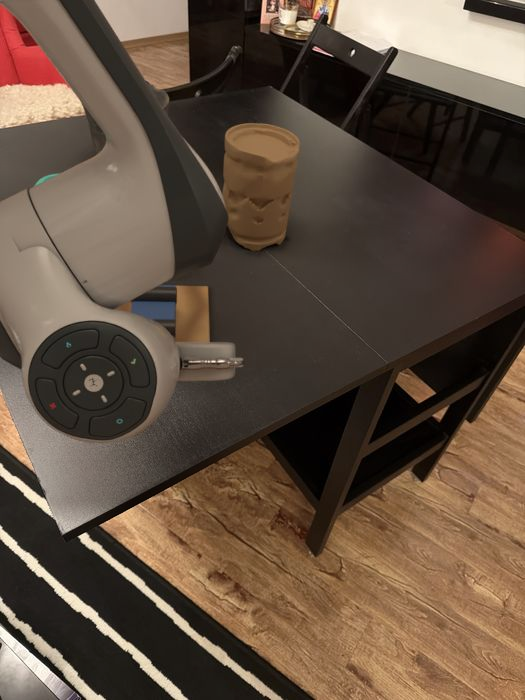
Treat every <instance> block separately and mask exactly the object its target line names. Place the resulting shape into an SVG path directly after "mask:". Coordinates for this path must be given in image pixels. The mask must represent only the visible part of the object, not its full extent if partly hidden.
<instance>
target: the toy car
mask: <svg viewBox="0 0 525 700" xmlns="http://www.w3.org/2000/svg"><path fill="white" fill-rule="evenodd" d="M176 286H177V284H176V285H175V284H161V285H159V286H157V287H155V288H153V289H151V290H150V291H148V292H146V293H144V294H142V295H140V296H138V297H137V298H135V299H133V300H131V303H132V307H131V313H134V314H138V315H141V316H144V317H147V318H149V319H152V320H154V321H156V322H158V323H159V324H161V325H162V326H163V327H164V328H165V329H166V330H167V331H168V332H169V333H170V334H171V335H172V337H173V338H174V340H175V337H176V304H177V287H176Z"/></svg>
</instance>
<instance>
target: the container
mask: <svg viewBox="0 0 525 700" xmlns="http://www.w3.org/2000/svg"><path fill="white" fill-rule="evenodd" d="M300 148H301V141H300V139H299V138H298V136H297V135H296V134H294V133H293V132H291V131H290V130H288V129H285V128H283V127H280V126H277V125H273V124H268V123H255V122H248V123H247V122H246V123H241V124H236V125H234V126H232V127H230V128H228V129H227V131H226V132H225V135H224V150H225V153H224V156H223V170H222V171H223V173H222V175H223V176H222V177H223V181H224V182H223V187H222V191H221V193H222V195H223V198H224V202H225V206H226V211H227V214H228V217H229V219H228V224H227V228H228V229H229V232H230V233H231V235H232V238H233V240H234V241H235V242H236V243H238V245H241V246H243V248H245V249H249V250H250V251H253V252H256V251H257V252H259V251H261V250H262V249H264V248H266V247H268V246H271V245H274V244H276V245H278V246H280V245H282V243H283V241H284V240H285V238H286V234H287V227H288V222H289V216H290V210H291V204H292V198H293V190H294V186H295V180H296V174H297V167H298V158H299V155H300Z"/></svg>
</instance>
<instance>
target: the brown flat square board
mask: <svg viewBox="0 0 525 700" xmlns="http://www.w3.org/2000/svg"><path fill="white" fill-rule="evenodd" d="M176 287H177V304H176V337H175V342H211V341H210V340H211V338H210V337H211V336H210V304H209V286H208V285H176ZM131 307H132V303H131V301H129V302H127V303H125V304H124V305H122V306H120V307H118V308H116V309H115V310H121V311H127V312H131Z"/></svg>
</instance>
